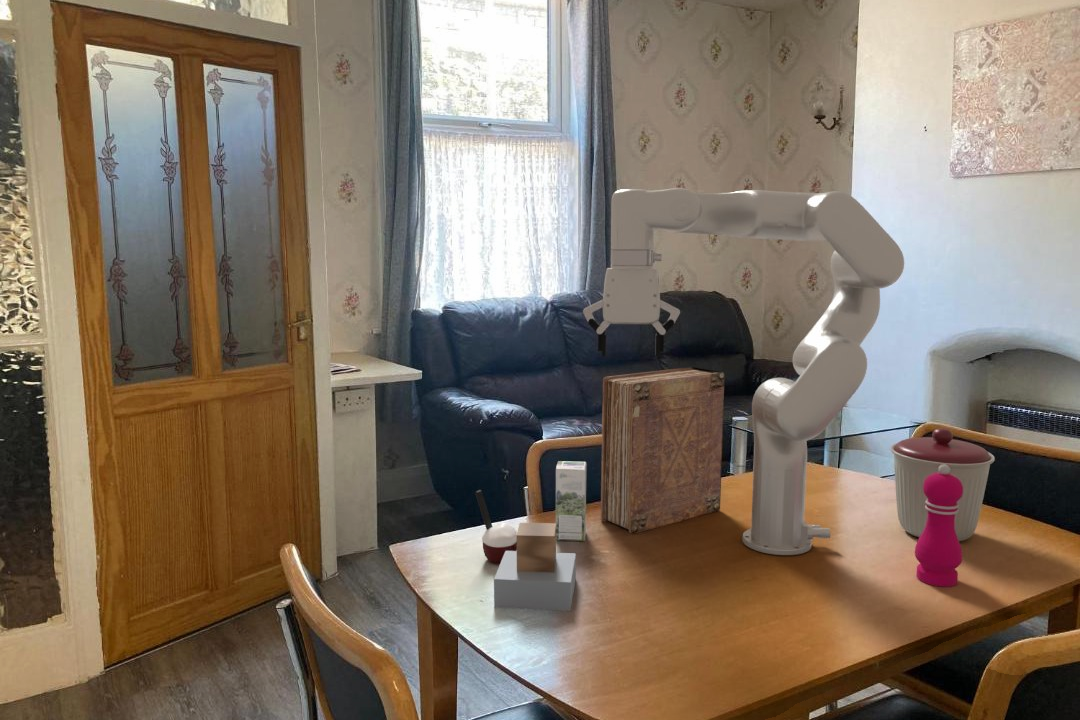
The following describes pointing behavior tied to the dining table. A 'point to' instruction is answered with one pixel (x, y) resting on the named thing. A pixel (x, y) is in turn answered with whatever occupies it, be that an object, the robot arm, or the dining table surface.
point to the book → (661, 447)
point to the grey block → (535, 584)
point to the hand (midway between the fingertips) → (630, 355)
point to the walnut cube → (536, 547)
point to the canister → (925, 458)
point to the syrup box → (571, 501)
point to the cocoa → (496, 535)
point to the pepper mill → (940, 530)
